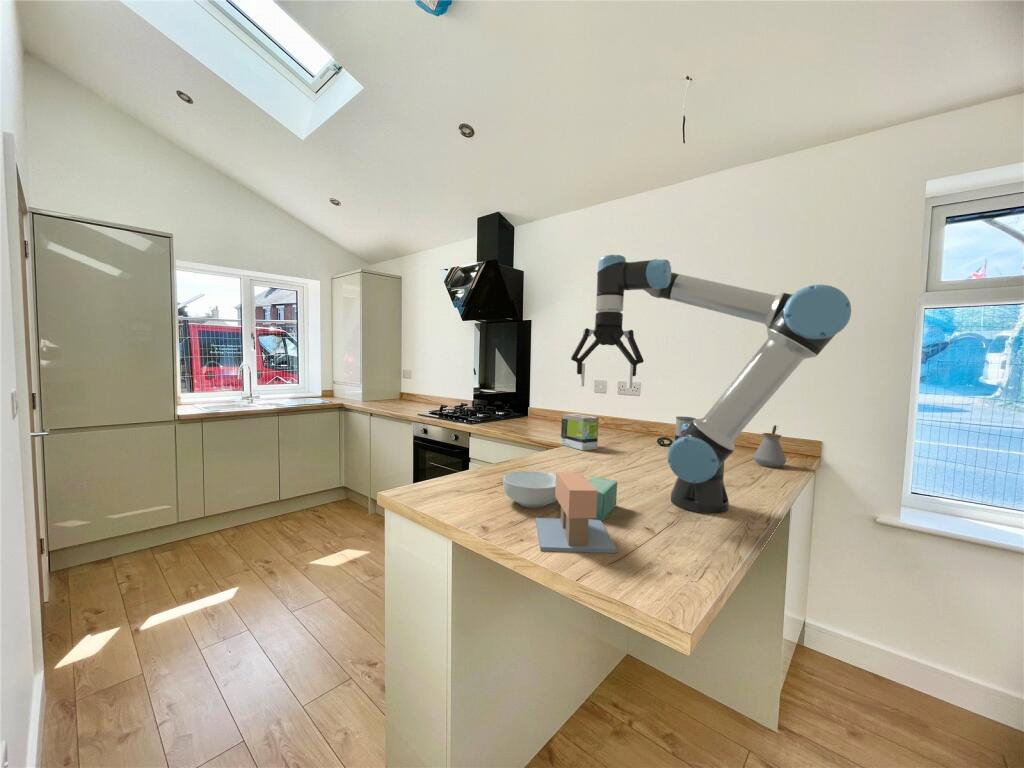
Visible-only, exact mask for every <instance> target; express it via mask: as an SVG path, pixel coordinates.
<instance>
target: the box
mask: <svg viewBox="0 0 1024 768" xmlns="http://www.w3.org/2000/svg"><path fill="white" fill-rule="evenodd" d="M587 480H588V481H589V482H590V483H591V484H592V485H593V486H594V487H595V488H596V489H597V490H598V492H597V512H596V518H592V520H600V521H604V520H605V518H606V517H607V516H609V514H610V513H611V511H612V510H613V509H614V508H615V507H616V505H617V494H618V493H617V492H618V491H617V490H618V489H617V488H618V480H615V479H611V478H605V477H600V476H595V475H594V476H592V477H590V478H588V479H587Z"/></svg>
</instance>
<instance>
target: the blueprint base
mask: <svg viewBox="0 0 1024 768" xmlns="http://www.w3.org/2000/svg"><path fill="white" fill-rule="evenodd" d="M535 527H536V531H537V538H538V543H539V549H540V551H543V552H570V553H571V552H572V553H573V552H574V553H605V554H609V553H610V554H611V553H612V554H617V553H618V552H617V551H618V550H617V547H616V546H615V544H614V542H613V540H612V538H611V537H610V535H609V533H608V530H607V529H606V527H605V526H604V524H603V523H602V520H598V519H592V518H568V517H567V515H566V514H565V512H564V510H563V509H562V507H561V506H560V518H555V517H535Z"/></svg>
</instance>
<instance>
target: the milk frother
mask: <svg viewBox="0 0 1024 768" xmlns="http://www.w3.org/2000/svg"><path fill="white" fill-rule="evenodd" d="M675 418H676V419H675V420H676V421H675V434H674V435H675V436H674V441H676V440H677V439H678V438H679V437H680V436H681V429H682V425H683V424H691V422H692V421H693V420H694V419H697V418H695V417H692V416H691V417H690V416H676V417H675ZM665 440H666V441H667V442H668V443H665ZM674 441H673V440H672V439H671V438H669V437H666V436H660V437H658V438H657V440H656V442H657V443H656V444H658V445H659V446H664V447H670V446H671V444H672V443H673V442H674Z"/></svg>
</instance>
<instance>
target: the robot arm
mask: <svg viewBox="0 0 1024 768" xmlns="http://www.w3.org/2000/svg"><path fill="white" fill-rule="evenodd" d="M596 275H597V278H596V279H597V280H596V281H597V282H596V299H595V300H596V303H595V311H596V313H595V319H594V320H595V321H594V322H595V324H594V325H595V326H594V329H589V327H586V328H584V329H583V331H582V333H583V334H582V337H581V339H580V341H579V342H578V344H577V346H576V348H575V350H574V351H573V353H572V355H571V358H570V360H571V361H573V362H575V363H576V374H577V375H579V386H580V387H585V375H586V374H585V371H586V363H585V362H584V361H585V360H586V359H587V358H588V357H589V356H590V354H592V352H593V351H595V349H596V348H597V346H599V345H602V346H606V345H607V346H616V347H617V348H618V349H619V351H620V352H621V353H622V354H623V355H624V358H626V359H627V361H628V363H629V364H628V365H627V370H626V371H627V372H626V388H627V389H632V388H633V377H636V375H637V365H639V364H643V363H644V357H643V356H642V353H641V351H640V349H639V347H638V344H637V342H636V339H635V334H634V330H632V329H627V330H623V318H624V317H623V316H624V314H623V313H622V312H623V311H624V298H625V297H624V296H625V291H639V290H643V291H645V292H646V293H648V294H649V295H650V296H652V297H654V298H657V299H665V300H670V301H675V302H679V303H682V304H684V305H685V304H686V305H688V306H689V305H691V306H694V307H697V308H702V309H706V310H710V311H714V312H715V313H716V312H717V313H721V314H725V315H728V316H733V317H736V318H740V319H744V320H748V321H752V322H756V323H760V324H764V325H765V326H766V331H767V339H766V340H765V342H764V343H763V344H762V346H760V348H759V349H758V350H757V351H756V352H755V354H754V355H753V356H752V358H751V359H750V360H749V361H748V362H747V364H746V365H745V366H744V368H742V370H741V371H740V372H739V374H738V375H737V376H736V377H735V378H734V380H733V381H732V382H731V383H730V384H729V386H728V387H727V389H726V390H725V391H724V392H723V393H722V394H721V396H720V397H719V398H718V399H717V401H715V402H714V404H713V406H711V408H710V409H709V410H708V411H707V413H706V414H705V415H704V417H701V418H696V419H694V420H693V421H692V422H691V424H683V425H682V429H681V436H680V437H679V438H678V439H677V440H676V441H675V440H674V441H673V442H672V444H671V445H670V446H669V447H668V450H667V451H668V452H667V463H668V465H669V468H670V469H671V471H672V472H673V474H674V475H675V476H676V477H677V479H676V480H675V483H674V485H673V488H672V490H671V493H670V502H671V503H673V504H674V505H675V506H677V507H678V508H681V509H683V510H687V511H690V512H691V511H692V512H695V513H701V514H711V515H712V514H713V515H715V514H716V515H717V514H723V513H726V512H728V511H729V506H730V503H729V502H730V501H729V498H728V494H727V490H726V486H725V482H724V473H725V461H726V460H727V459H728V458H729V457H730V455H731V454H733V452H734V451H735V450H736V445H735V439H736V438H737V437H738V436H739V435H740V434H741V432H743V430H744V429H745V428H746V427H747V426H748V424H750V422H751V421H752V420H753V419H754V418H755V416H757V414H758V413H759V412H760V410H761V409H762V408H763V407H764V406H765V405H766V403H767V402H768V401H769V400H770V399H771V398H772V397H773V396H774V394H775V393H776V392H777V391H778V390H779V389H780V387H781V386H782V385H783V384H784V383H785V382H786V380H787V379H788V378H789V377H790V376H791V375H792V373H793V372H795V371H796V369H797V368H798V367H799V366H800V365H801V363H802V362H803V361H804V360H805V359H812V358H817V356H818V355H819V354H820V353H821V352H822V350H823V349H825V347H827V345H828V344H829V343H830V342H831V340H832V339H833V338H834V337H835V336H836V335H837V334H838V333H840V332H842V330H843V329H845V328H846V326H847V325H848V323H849V322H850V320H851V316H852V305H851V302H850V299H849V297H848V296H847V295H846V294H845V292H843V291H842V290H840V289H839V288H837V287H835V286H832V285H828V284H813V285H808V286H805V287H803V288H801V289H799V290H797V291H796V292H795V293H786V292H781V293H779V294H772V293H767V292H762V291H759V290H752V289H748V288H744V287H739V286H734V285H730V284H726V283H721V282H717V281H713V280H707V279H702V278H698V277H694V276H689V275H685V274H682V273H680V274H679V273H676V272H672V265H671V262H670V261H669V259H663V258H662V259H657V258H656V259H655V258H653V259H650V260H649V259H648V260H639V261H631V262H630V261H627V260H626V257H625V256H624V255H621V254H606V255H604V256H602V257H600V258H599V260H598V266H597V273H596ZM592 335H593V336H594V338H595V339H594V340H593V341H592V343H591V344H590V345H589V347H587V348H586V350H584V352H582V354H581V351H582V350H583V348H584V346H585V344H586V342H587V340H588V339H589V337H591V336H592ZM622 337H624V338H625V339H627V342H628V346H630V349H631V351H632V353H631V352H630V351H629V349H628V348H627V347H626V345H625V343H624V342H623V341H622V340H621V339H622ZM580 354H581V355H580ZM632 354H633V355H634V356H633V355H632ZM583 362H584V363H583ZM673 504H672V505H673Z"/></svg>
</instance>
